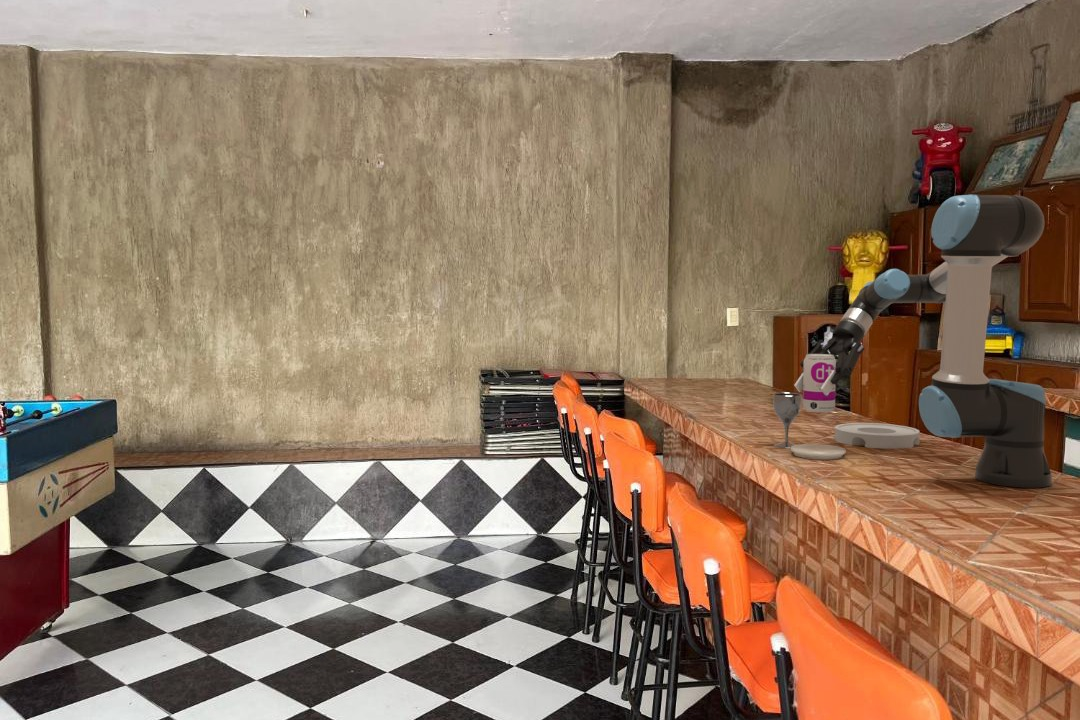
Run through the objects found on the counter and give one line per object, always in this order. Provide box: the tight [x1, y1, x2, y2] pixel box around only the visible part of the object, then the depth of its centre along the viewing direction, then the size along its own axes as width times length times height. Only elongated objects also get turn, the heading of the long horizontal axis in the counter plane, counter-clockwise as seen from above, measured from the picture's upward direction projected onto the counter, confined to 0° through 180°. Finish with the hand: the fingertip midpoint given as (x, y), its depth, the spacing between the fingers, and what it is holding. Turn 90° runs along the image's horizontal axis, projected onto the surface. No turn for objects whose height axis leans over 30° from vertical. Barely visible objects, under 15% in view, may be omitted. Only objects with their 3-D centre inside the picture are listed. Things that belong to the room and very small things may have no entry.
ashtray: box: [834, 422, 921, 450], centre depth 234 cm, size 23×23×4 cm
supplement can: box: [802, 353, 837, 413], centre depth 213 cm, size 8×8×15 cm
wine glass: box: [772, 391, 803, 449], centre depth 227 cm, size 8×8×15 cm
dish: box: [790, 443, 846, 461], centre depth 214 cm, size 14×14×2 cm
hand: (810, 390), depth 211 cm, fingers closed on supplement can, 8 cm apart
